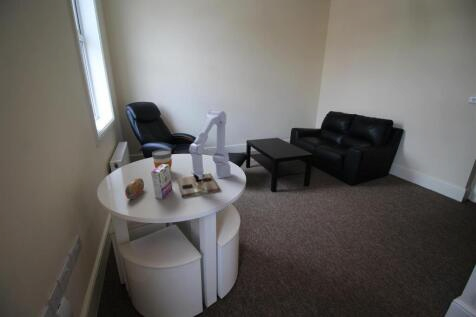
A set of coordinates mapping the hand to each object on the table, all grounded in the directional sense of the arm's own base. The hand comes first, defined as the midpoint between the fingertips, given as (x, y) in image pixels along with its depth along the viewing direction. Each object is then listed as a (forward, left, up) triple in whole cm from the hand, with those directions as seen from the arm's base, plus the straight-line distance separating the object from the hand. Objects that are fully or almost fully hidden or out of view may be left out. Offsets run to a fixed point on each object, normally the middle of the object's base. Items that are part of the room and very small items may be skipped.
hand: (199, 185), depth 128 cm
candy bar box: (+20, -2, -3) cm, 20 cm away
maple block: (0, +3, -1) cm, 4 cm away
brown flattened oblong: (+35, -7, -3) cm, 36 cm away
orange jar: (+18, -34, -3) cm, 39 cm away
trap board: (0, -5, -3) cm, 6 cm away
